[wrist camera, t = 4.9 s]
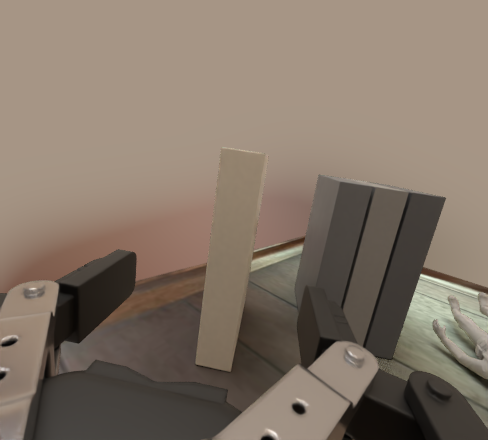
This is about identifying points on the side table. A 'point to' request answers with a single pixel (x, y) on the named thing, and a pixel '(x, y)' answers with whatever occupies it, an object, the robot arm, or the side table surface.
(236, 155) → the white book
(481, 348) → the soldier figure
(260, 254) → the side table surface
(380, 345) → the grey books
